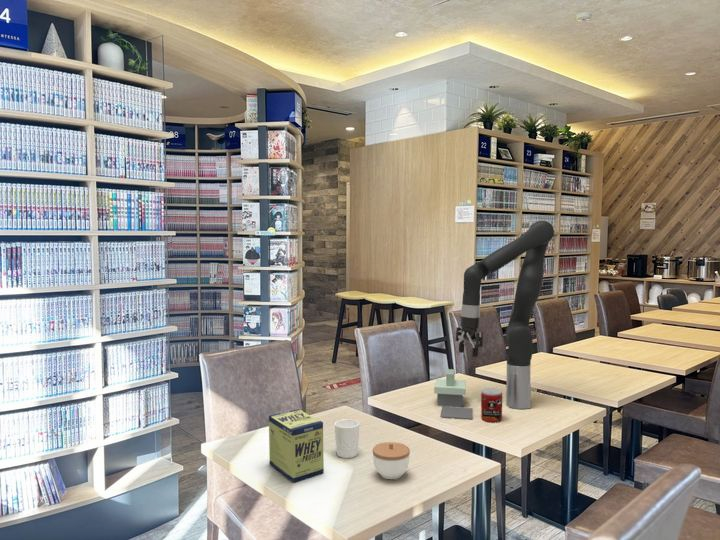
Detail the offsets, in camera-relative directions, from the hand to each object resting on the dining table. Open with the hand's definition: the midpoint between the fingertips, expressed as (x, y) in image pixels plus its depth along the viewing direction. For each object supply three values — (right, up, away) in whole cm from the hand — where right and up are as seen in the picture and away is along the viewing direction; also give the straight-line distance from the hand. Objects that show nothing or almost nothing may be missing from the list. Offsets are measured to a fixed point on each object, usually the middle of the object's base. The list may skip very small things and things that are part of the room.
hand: (467, 354), depth 218 cm
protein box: (-63, -25, -59) cm, 90 cm away
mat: (-7, -21, -12) cm, 25 cm away
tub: (-7, -20, +2) cm, 21 cm away
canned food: (+5, -22, -18) cm, 29 cm away
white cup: (-48, -24, -48) cm, 73 cm away
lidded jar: (-35, -25, -64) cm, 77 cm away
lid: (-7, -15, +1) cm, 16 cm away
